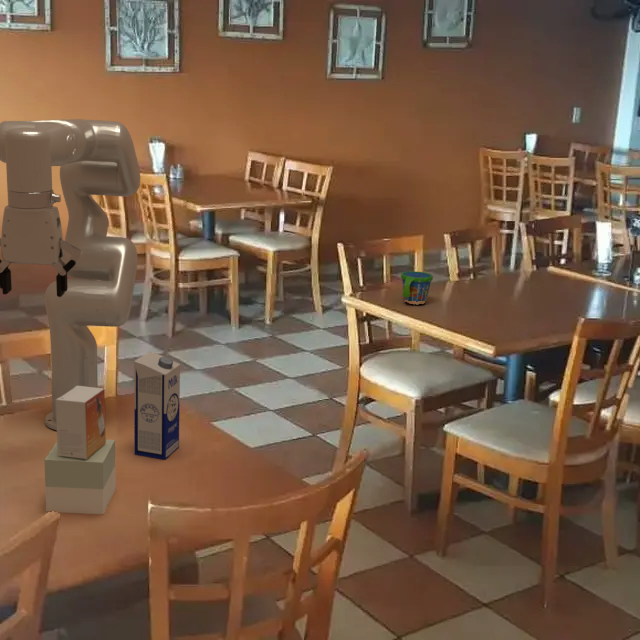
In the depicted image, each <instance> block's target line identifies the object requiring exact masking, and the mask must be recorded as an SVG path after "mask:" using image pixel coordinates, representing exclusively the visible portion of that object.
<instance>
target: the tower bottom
mask: <svg viewBox="0 0 640 640" xmlns="http://www.w3.org/2000/svg"><path fill="white" fill-rule="evenodd" d="M44 489H45V490H44V491H45V512H46V513H48V512H47V511H59V512H58V513H61V514H62V513H63V514H66V513H67V514H85V515H86V514H87V515H104V514H105V512H106V510H107V508H108V506H109V503H110V501H111V500H112V498H113V495H114V493H115V491H116V465H115V466H114V469H113V471H112V473H111V475H110V477H109V479H108V481H107V483H106V485H105V487H104V489H88V488H66V487H45V486H44Z"/></svg>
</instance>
